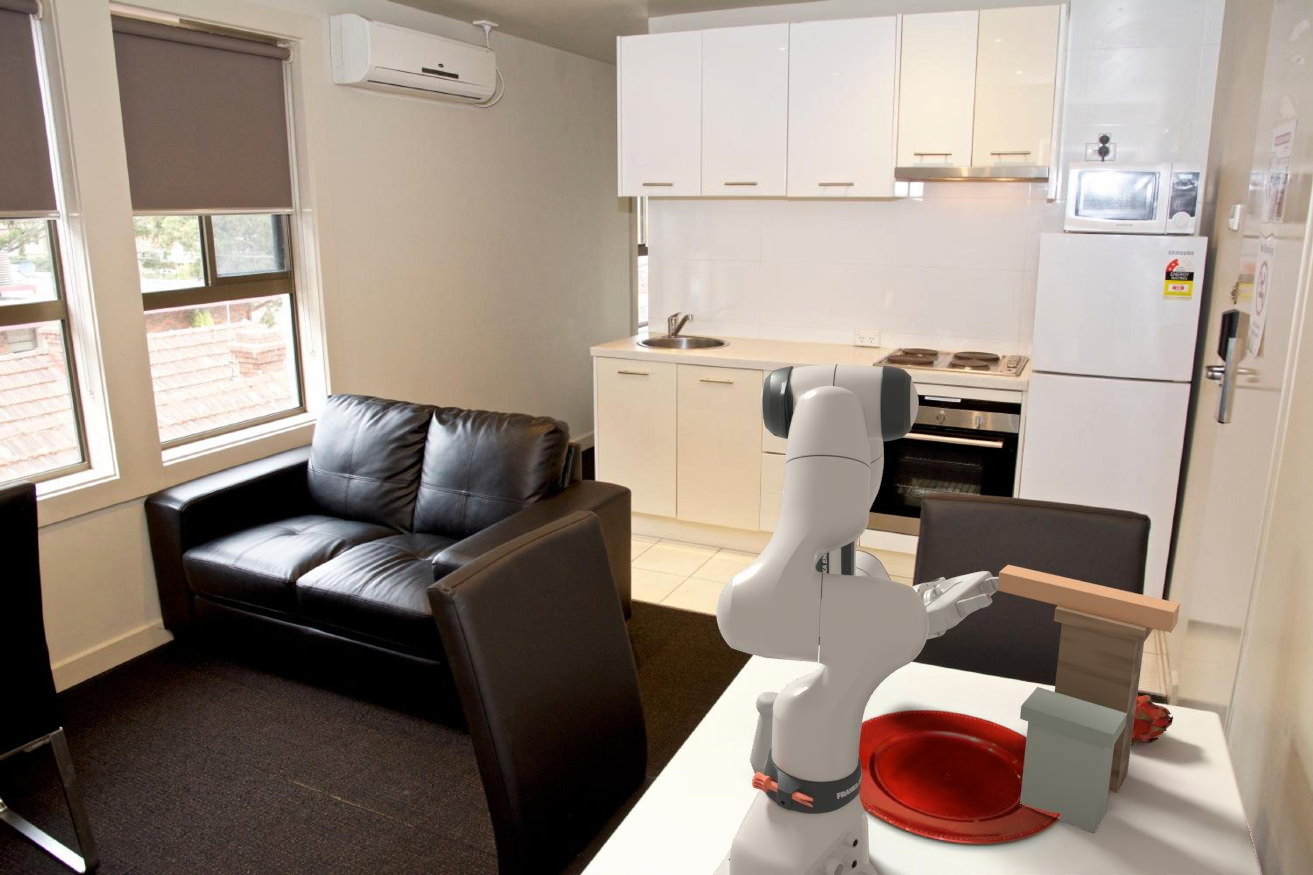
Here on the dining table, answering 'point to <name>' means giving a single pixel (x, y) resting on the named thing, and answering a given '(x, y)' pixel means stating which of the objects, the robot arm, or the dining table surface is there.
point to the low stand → (1069, 756)
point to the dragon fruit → (1149, 720)
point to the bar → (1090, 598)
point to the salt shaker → (763, 731)
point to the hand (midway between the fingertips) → (1000, 589)
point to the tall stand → (1102, 670)
